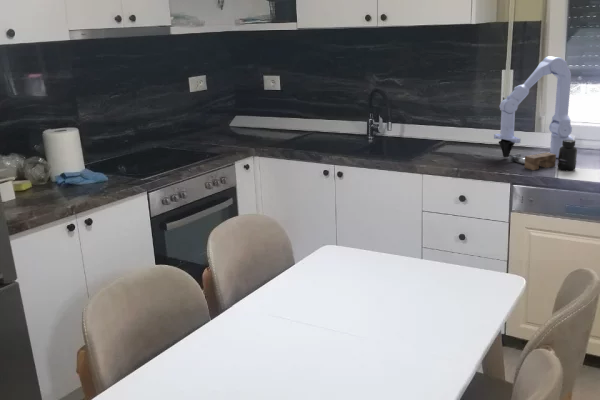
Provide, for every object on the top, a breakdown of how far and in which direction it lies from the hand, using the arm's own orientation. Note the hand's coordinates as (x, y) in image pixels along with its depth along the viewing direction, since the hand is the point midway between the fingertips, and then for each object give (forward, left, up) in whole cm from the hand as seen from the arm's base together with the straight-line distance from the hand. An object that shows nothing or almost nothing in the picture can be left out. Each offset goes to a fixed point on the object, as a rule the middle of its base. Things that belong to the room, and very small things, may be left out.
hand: (506, 156), depth 277 cm
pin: (0, +10, -1) cm, 10 cm away
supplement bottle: (-7, +28, -1) cm, 29 cm away
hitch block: (0, +19, -1) cm, 19 cm away
